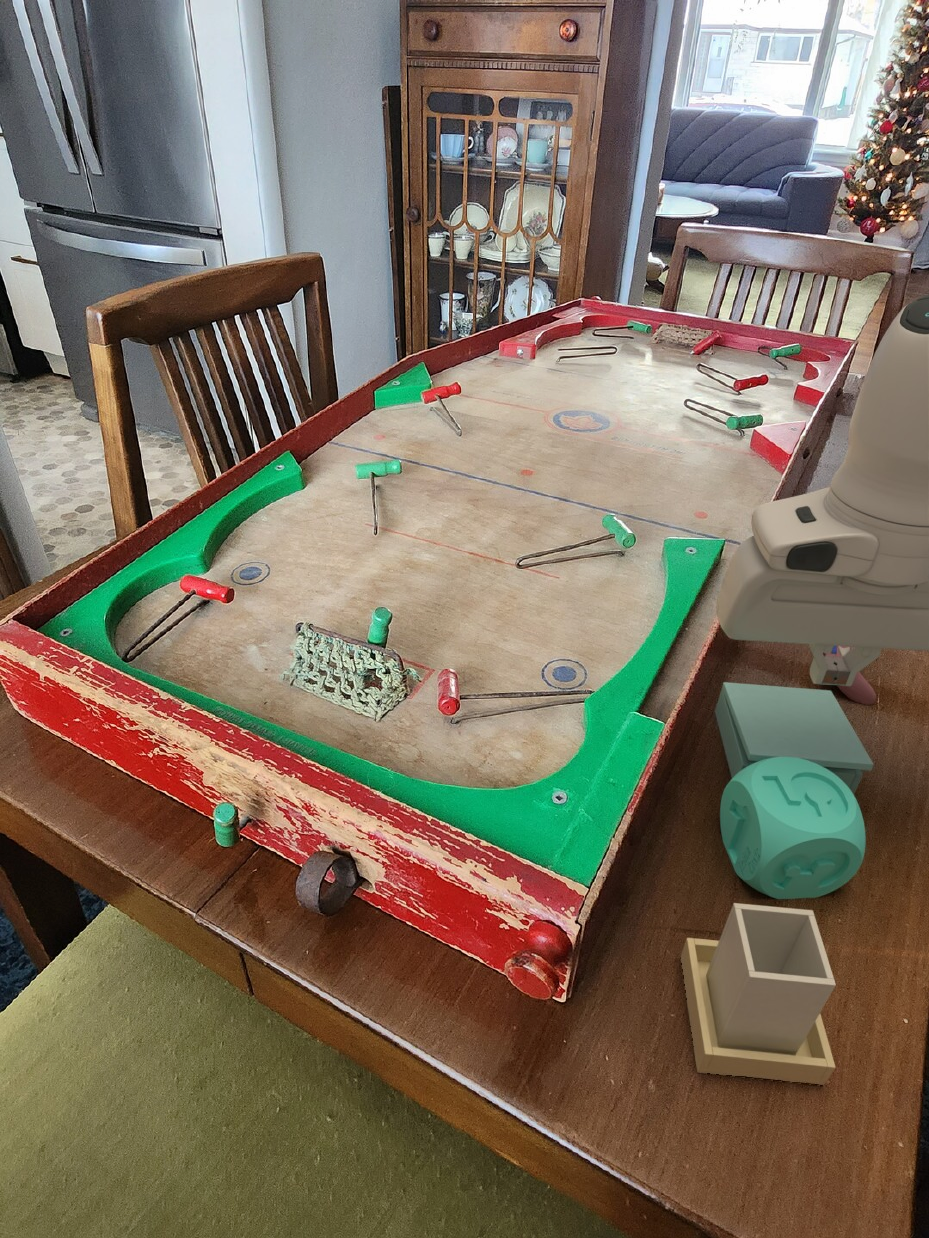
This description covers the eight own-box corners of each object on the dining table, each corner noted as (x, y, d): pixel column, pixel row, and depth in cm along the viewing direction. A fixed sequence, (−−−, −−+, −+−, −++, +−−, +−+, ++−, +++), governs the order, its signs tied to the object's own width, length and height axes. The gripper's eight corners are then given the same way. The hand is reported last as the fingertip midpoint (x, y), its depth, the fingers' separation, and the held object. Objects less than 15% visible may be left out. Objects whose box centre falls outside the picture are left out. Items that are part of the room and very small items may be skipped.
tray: (792, 967, 56) (802, 948, 55) (824, 1086, 50) (836, 1067, 48) (680, 956, 56) (686, 937, 55) (696, 1072, 50) (705, 1053, 49)
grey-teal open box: (850, 803, 69) (863, 775, 67) (733, 793, 69) (742, 764, 67) (817, 723, 77) (828, 696, 75) (713, 715, 78) (721, 687, 76)
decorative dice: (711, 822, 67) (733, 756, 62) (801, 818, 67) (829, 753, 63) (745, 904, 60) (772, 837, 55) (845, 900, 61) (880, 833, 56)
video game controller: (836, 659, 88) (824, 606, 86) (882, 655, 86) (870, 601, 83) (828, 712, 81) (814, 655, 78) (877, 709, 78) (864, 651, 76)
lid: (871, 770, 65) (874, 764, 65) (748, 760, 66) (750, 754, 66) (829, 696, 75) (831, 690, 75) (721, 687, 76) (723, 681, 75)
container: (777, 981, 55) (813, 910, 50) (796, 1055, 51) (836, 985, 46) (705, 974, 55) (733, 902, 50) (718, 1047, 51) (749, 976, 46)
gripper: (1014, 519, 58) (944, 664, 66) (733, 505, 59) (698, 649, 67) (1059, 564, 53) (977, 715, 61) (750, 547, 54) (711, 697, 62)
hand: (829, 680), depth 64 cm, fingers closed
